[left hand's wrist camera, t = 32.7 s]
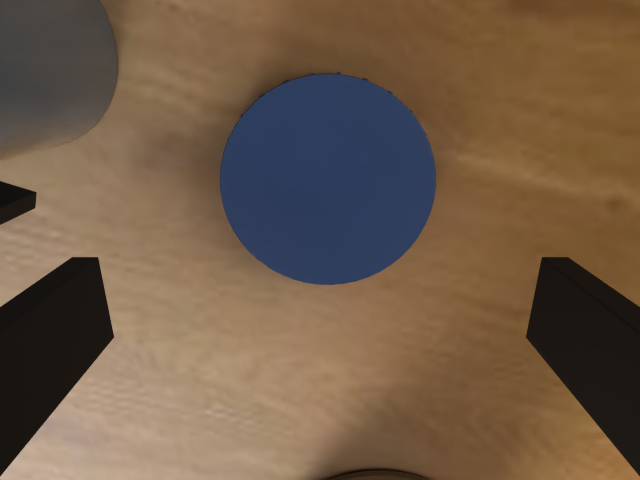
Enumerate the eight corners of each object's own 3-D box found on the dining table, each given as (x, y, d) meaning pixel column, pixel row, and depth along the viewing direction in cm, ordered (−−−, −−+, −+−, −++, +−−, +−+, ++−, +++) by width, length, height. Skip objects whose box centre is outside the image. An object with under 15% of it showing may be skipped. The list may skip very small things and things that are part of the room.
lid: (444, 83, 21) (458, 85, 19) (407, 275, 25) (415, 294, 23) (230, 61, 21) (219, 60, 18) (227, 258, 25) (218, 276, 23)
